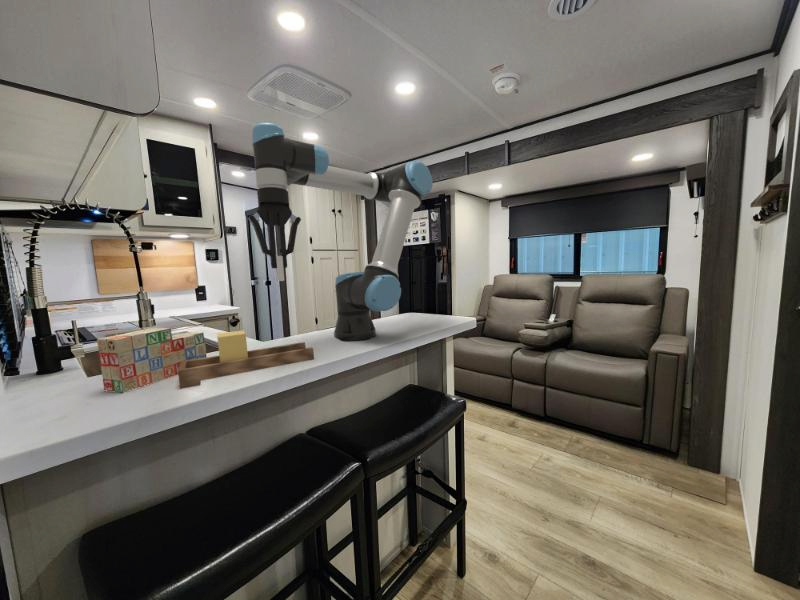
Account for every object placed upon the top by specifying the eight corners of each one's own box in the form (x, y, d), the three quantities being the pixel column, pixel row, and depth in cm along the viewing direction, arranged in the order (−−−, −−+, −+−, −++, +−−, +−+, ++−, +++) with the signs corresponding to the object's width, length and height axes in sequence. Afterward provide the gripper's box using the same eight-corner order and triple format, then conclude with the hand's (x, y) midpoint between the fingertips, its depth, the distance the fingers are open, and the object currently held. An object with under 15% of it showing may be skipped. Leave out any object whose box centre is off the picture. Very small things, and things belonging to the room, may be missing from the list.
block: (246, 363, 85) (243, 330, 84) (249, 369, 80) (245, 333, 79) (220, 368, 82) (217, 333, 81) (221, 374, 77) (217, 337, 76)
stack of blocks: (191, 363, 92) (186, 321, 91) (208, 364, 90) (203, 321, 89) (103, 392, 72) (95, 338, 70) (122, 394, 70) (115, 338, 69)
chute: (305, 355, 94) (304, 342, 94) (314, 362, 86) (313, 348, 86) (182, 377, 79) (181, 361, 79) (180, 388, 71) (177, 371, 71)
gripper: (295, 194, 89) (301, 279, 92) (243, 190, 83) (252, 282, 85) (301, 188, 83) (308, 279, 85) (246, 183, 76) (255, 282, 79)
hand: (280, 280), depth 85 cm, fingers closed
